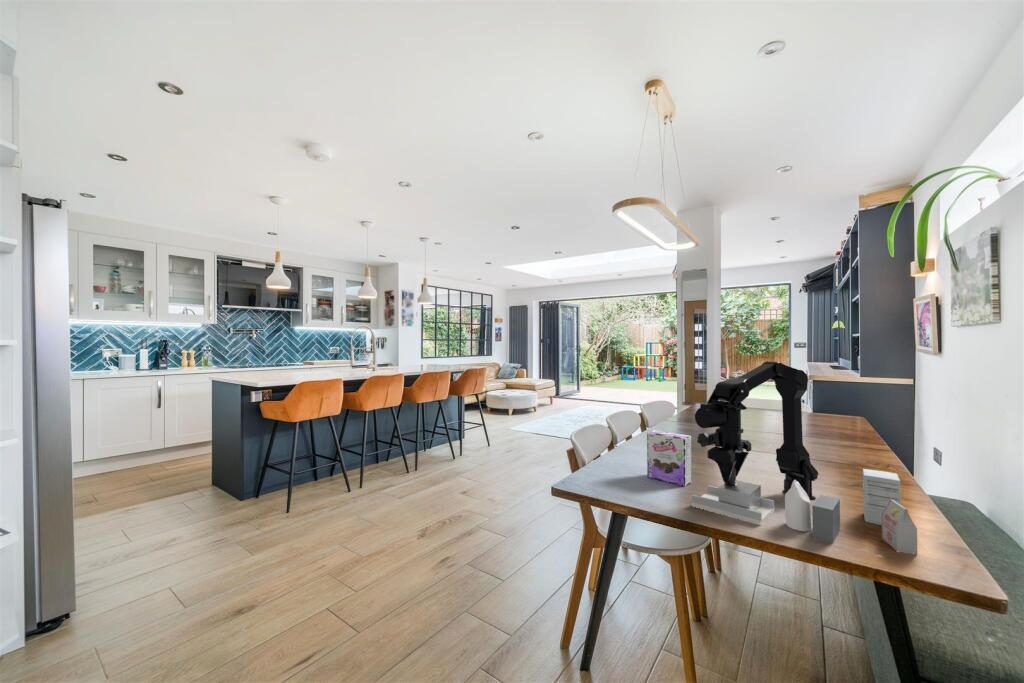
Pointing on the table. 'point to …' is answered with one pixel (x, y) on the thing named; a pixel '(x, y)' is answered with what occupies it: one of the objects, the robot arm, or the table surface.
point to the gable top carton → (899, 528)
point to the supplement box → (879, 493)
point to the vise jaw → (740, 493)
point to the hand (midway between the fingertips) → (730, 479)
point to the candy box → (669, 457)
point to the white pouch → (797, 508)
